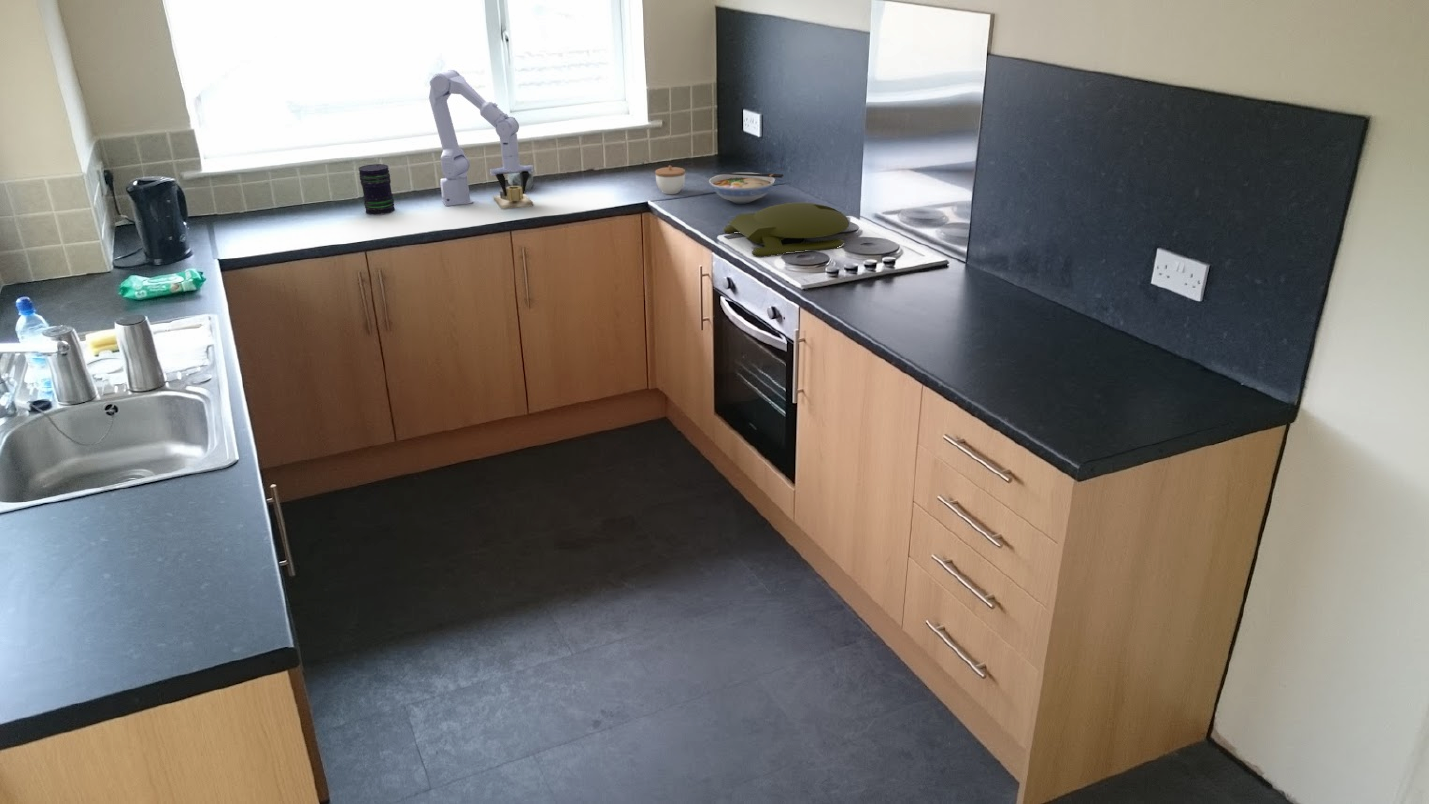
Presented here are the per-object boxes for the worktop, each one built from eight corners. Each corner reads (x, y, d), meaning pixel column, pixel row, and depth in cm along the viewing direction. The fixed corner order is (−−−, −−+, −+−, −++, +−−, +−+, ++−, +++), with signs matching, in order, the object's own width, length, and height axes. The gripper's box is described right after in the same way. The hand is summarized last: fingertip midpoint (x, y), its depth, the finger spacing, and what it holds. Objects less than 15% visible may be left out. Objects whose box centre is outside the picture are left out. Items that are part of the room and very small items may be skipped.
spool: (539, 182, 372) (524, 158, 369) (517, 197, 371) (501, 172, 369) (538, 183, 385) (523, 160, 382) (517, 197, 384) (502, 173, 382)
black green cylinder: (386, 215, 348) (379, 171, 341) (360, 214, 350) (352, 170, 343) (400, 207, 357) (393, 164, 350) (374, 206, 359) (367, 163, 352)
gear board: (501, 209, 352) (499, 196, 350) (493, 199, 364) (492, 187, 362) (533, 205, 356) (531, 192, 354) (524, 196, 368) (523, 183, 366)
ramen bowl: (697, 207, 350) (696, 183, 347) (718, 191, 370) (718, 168, 366) (767, 212, 343) (767, 187, 339) (785, 195, 362) (786, 172, 359)
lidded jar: (675, 197, 363) (674, 170, 359) (650, 193, 368) (648, 167, 364) (691, 190, 371) (690, 164, 367) (666, 187, 376) (665, 161, 372)
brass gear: (508, 201, 352) (507, 190, 351) (505, 198, 357) (504, 186, 355) (524, 200, 354) (523, 188, 352) (521, 196, 359) (520, 185, 357)
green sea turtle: (755, 260, 297) (755, 226, 293) (721, 232, 324) (721, 201, 320) (865, 247, 307) (867, 214, 303) (824, 220, 333) (825, 190, 329)
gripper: (491, 159, 343) (495, 199, 349) (534, 154, 348) (537, 194, 354) (487, 155, 349) (491, 194, 355) (529, 150, 354) (533, 190, 360)
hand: (514, 194), depth 355 cm, fingers closed on brass gear, 6 cm apart
